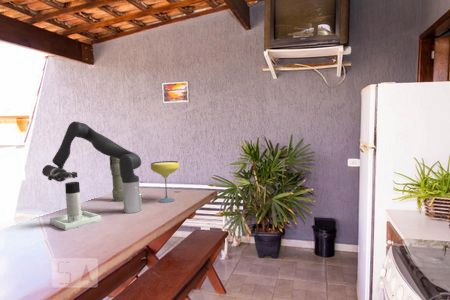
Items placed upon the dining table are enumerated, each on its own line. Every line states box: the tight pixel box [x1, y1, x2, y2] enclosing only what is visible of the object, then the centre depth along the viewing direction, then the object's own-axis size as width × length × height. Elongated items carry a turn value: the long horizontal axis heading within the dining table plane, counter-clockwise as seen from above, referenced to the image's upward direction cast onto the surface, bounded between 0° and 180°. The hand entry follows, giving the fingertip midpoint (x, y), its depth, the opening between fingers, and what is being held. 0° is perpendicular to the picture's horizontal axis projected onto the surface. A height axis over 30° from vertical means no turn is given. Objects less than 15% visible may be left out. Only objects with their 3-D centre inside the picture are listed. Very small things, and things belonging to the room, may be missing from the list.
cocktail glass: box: [150, 160, 180, 204], centre depth 204 cm, size 18×18×25 cm
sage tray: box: [49, 210, 102, 231], centre depth 162 cm, size 18×18×3 cm
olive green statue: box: [109, 156, 124, 203], centre depth 210 cm, size 9×12×35 cm
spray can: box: [64, 181, 82, 222], centre depth 162 cm, size 7×7×20 cm
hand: (66, 177), depth 170 cm, fingers open, 8 cm apart
